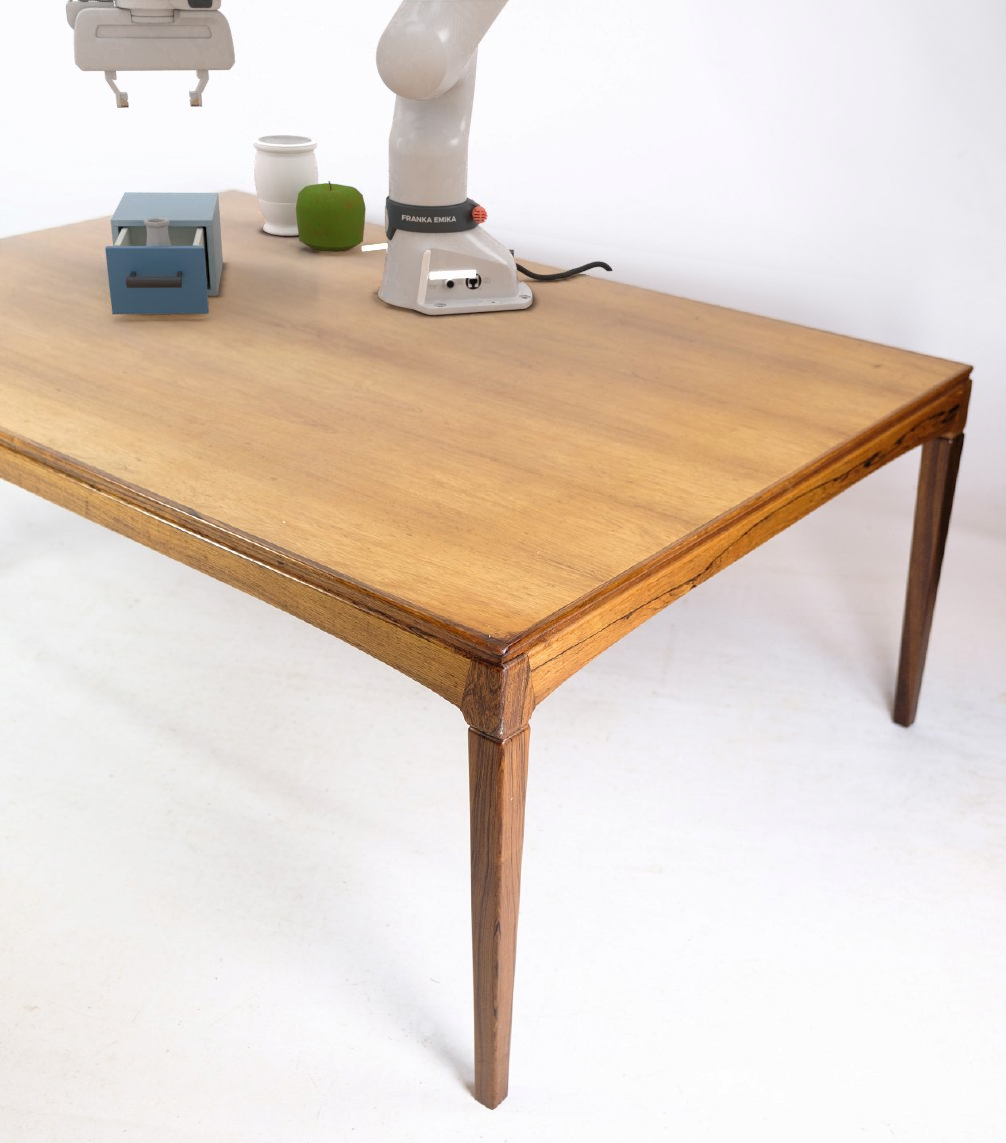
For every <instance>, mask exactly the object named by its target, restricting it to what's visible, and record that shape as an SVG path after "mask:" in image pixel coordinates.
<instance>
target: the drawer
mask: <svg viewBox="0 0 1006 1143" xmlns="http://www.w3.org/2000/svg"><path fill="white" fill-rule="evenodd" d="M168 234H169V239H170V242H171V246H146V243H147V227H146V226H123V228H122V230H121V232H120V234H119V236H118V238H117V240H116V243H115V245H114V246H113V245H106V246H105V248H104V251H105V259H106V268H107V279H108V286H109V296H110V305H111V313H112V315H205V314H206V315H208V314H209V312H210V308H209V296H208V293H207V284H208V279H209V275H208V261H207V247H206V233H205V226H168Z"/></svg>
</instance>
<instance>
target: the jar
mask: <svg viewBox="0 0 1006 1143" xmlns="http://www.w3.org/2000/svg"><path fill="white" fill-rule="evenodd" d="M252 146H253V147H254V148H255V149H256V153H255V156H254V166H253V179H254V186H255V191H256V195H257V201H258V206H259V209H260V213H261V214H262V216H263V218H264V220H265V222H264V224H263V226H262V230H263V231H264V232H266V233H267V234H269V235H275V236H281V237H282V236H283V237H295V236H299V234H298V226H297V216H296V204H297V199H298V193H299V192H300V191H301V190H302V189H303V188H304V187H305V186H309V185H315V184H319V168H318V162H317V157H316V154H315V150H316V149H317V148H318V140H317V139H315V138H313V137H312V138H311V137H307V136H302V135H301V136H300V135H299V136H298V135H290V134H287V135H286V134H279V135H277V134H276V135H275V134H274V135H264V136H260V137H255V138H254V139H253V140H252Z"/></svg>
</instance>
